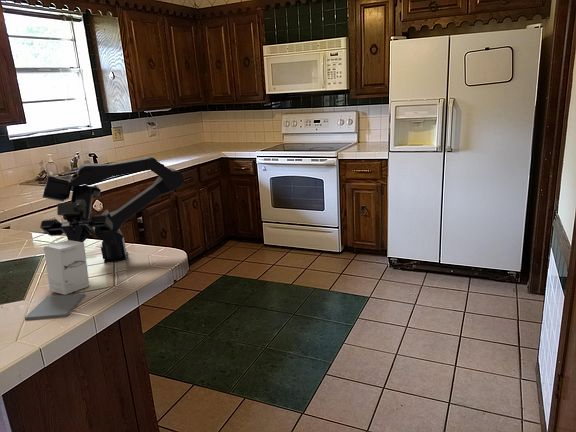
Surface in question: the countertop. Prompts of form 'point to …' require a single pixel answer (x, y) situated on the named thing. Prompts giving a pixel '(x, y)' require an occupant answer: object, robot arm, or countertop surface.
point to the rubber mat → (55, 306)
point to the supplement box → (66, 266)
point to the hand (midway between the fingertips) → (72, 252)
